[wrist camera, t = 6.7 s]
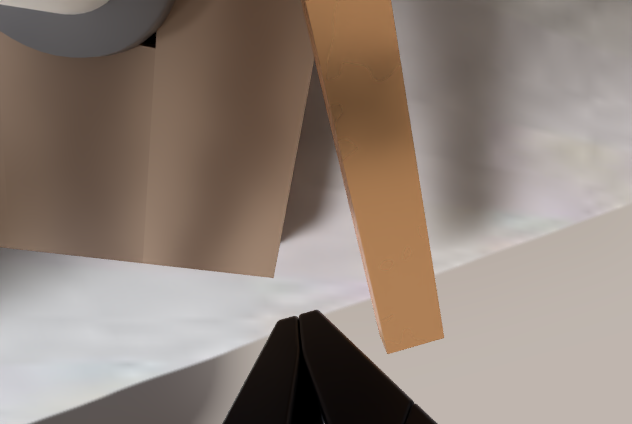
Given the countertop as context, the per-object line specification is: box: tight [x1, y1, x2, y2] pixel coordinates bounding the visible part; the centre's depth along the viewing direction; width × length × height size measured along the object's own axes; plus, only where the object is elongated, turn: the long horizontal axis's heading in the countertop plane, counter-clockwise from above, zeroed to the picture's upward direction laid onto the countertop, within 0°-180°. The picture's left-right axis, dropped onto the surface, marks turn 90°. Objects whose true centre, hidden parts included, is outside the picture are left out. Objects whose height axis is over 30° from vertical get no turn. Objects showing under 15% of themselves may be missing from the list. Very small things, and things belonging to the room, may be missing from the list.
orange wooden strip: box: [301, 0, 444, 354], centre depth 12 cm, size 3×25×1 cm, turn 14°
